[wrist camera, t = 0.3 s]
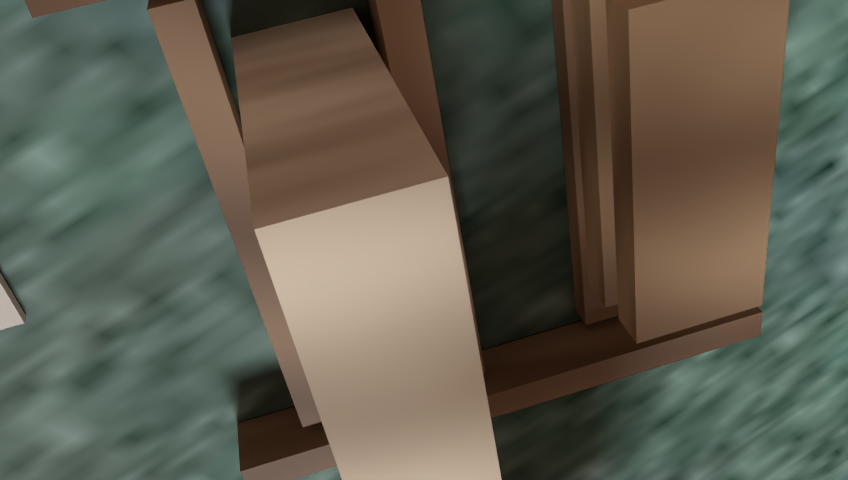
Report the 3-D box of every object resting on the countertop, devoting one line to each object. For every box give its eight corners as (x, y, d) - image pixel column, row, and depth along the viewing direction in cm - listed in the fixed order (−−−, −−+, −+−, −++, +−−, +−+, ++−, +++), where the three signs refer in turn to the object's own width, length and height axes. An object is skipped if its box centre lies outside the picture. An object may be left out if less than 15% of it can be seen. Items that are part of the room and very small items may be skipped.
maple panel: (421, 317, 25) (516, 561, 18) (328, 344, 25) (385, 604, 18) (352, 7, 20) (448, 176, 12) (230, 37, 19) (254, 229, 12)
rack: (727, 299, 28) (760, 335, 26) (246, 444, 26) (250, 492, 24) (757, -224, 19) (811, -219, 17) (27, -56, 17) (9, -33, 15)
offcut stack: (708, 262, 27) (771, 326, 24) (571, 303, 27) (618, 374, 24) (725, -152, 20) (818, -132, 17) (537, -107, 20) (599, -78, 17)
